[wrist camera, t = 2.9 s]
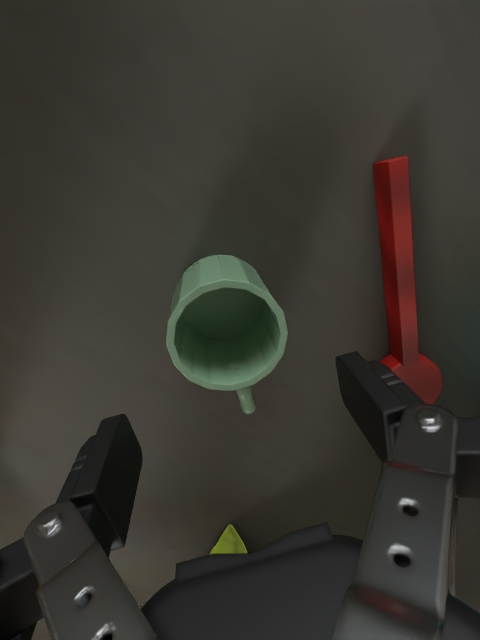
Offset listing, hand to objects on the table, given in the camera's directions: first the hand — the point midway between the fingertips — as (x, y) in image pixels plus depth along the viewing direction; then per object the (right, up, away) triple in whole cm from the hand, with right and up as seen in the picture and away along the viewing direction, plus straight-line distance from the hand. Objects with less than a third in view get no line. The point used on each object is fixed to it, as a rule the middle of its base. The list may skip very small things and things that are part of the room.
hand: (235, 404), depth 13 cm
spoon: (+11, +4, +13) cm, 18 cm away
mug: (-1, +3, +12) cm, 12 cm away
